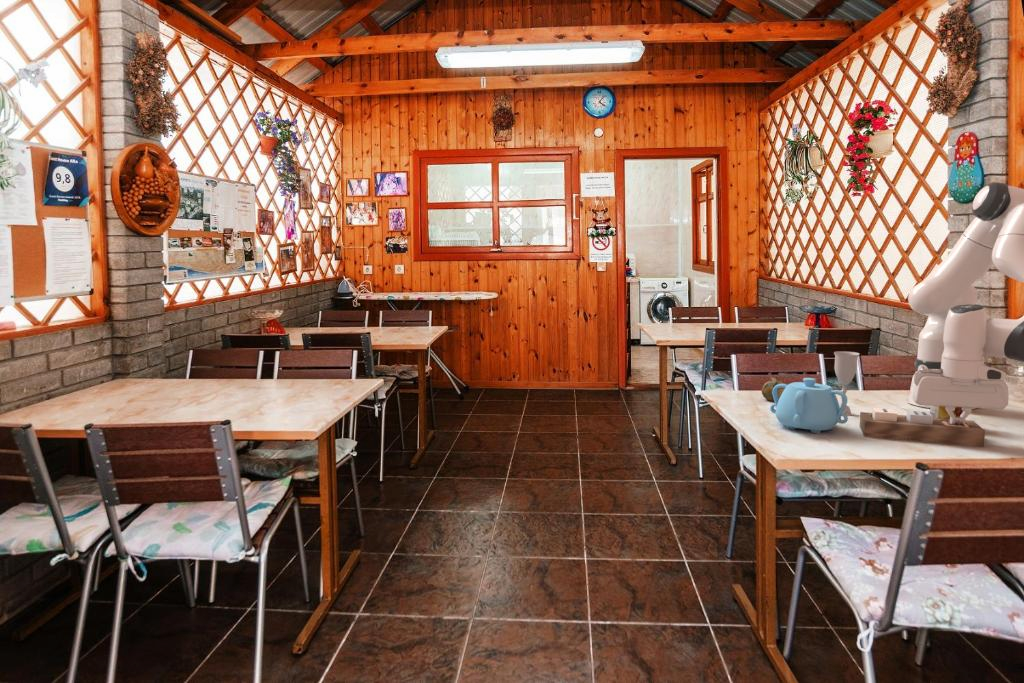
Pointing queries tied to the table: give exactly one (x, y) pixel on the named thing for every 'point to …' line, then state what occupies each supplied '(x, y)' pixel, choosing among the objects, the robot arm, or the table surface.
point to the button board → (923, 431)
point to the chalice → (845, 371)
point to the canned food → (944, 412)
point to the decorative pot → (809, 406)
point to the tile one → (884, 414)
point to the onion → (769, 387)
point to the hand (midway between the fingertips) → (957, 423)
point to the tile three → (953, 424)
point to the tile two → (919, 417)
